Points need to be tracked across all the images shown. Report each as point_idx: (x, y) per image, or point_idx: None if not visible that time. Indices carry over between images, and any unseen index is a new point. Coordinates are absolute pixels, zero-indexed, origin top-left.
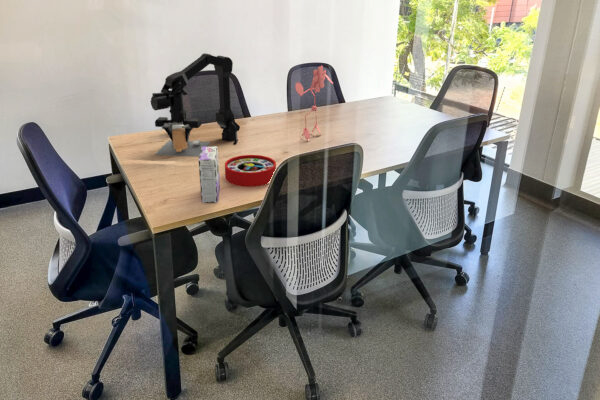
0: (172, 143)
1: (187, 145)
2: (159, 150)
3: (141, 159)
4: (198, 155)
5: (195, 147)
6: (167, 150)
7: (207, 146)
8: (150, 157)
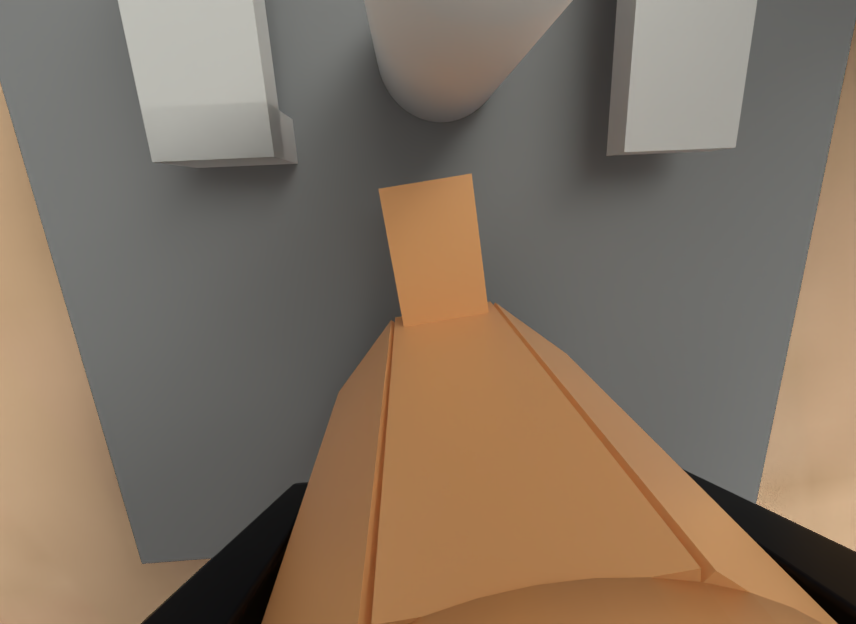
0: (185, 165)
1: (480, 105)
2: (104, 399)
3: (37, 584)
4: (727, 484)
5: (634, 157)
6: (227, 377)
7: (841, 63)
8: (100, 514)
